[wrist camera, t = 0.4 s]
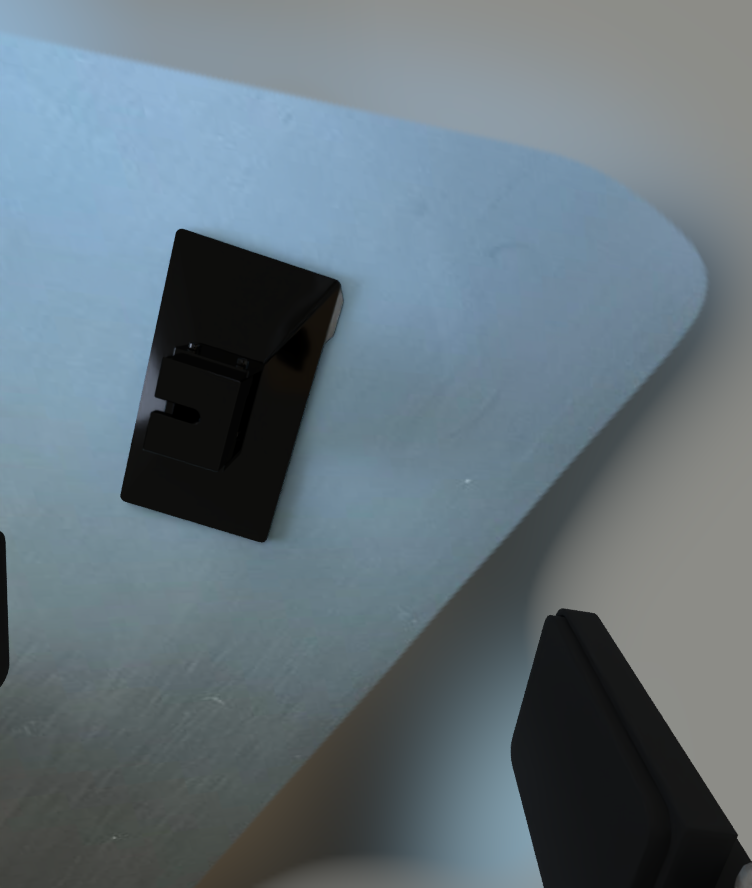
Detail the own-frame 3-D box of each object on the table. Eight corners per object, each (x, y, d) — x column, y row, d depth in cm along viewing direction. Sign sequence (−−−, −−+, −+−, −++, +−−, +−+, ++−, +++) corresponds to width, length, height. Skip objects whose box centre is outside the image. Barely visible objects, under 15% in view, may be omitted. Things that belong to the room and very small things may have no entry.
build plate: (181, 228, 23) (130, 208, 18) (349, 284, 23) (340, 278, 19) (122, 497, 26) (65, 538, 21) (272, 542, 26) (248, 592, 21)
